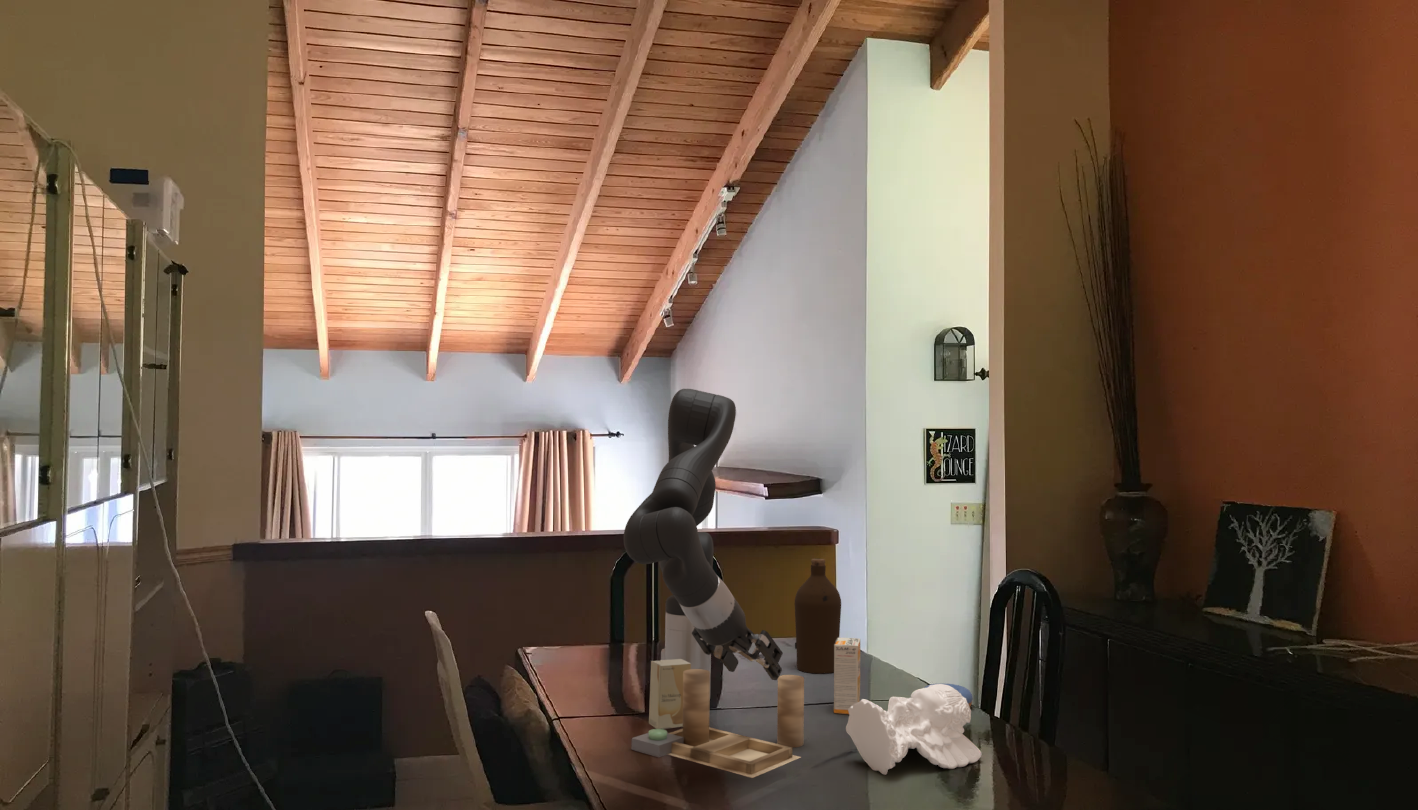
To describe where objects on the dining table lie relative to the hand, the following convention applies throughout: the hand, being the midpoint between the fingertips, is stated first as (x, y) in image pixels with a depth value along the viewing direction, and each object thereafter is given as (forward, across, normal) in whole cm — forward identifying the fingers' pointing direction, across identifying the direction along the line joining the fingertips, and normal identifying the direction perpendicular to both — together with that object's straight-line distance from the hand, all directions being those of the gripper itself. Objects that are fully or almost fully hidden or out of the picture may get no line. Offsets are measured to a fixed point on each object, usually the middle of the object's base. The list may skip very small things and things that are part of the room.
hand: (755, 671), depth 157 cm
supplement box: (+38, +6, -17) cm, 42 cm away
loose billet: (+17, 0, +4) cm, 18 cm away
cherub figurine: (+24, -18, -3) cm, 30 cm away
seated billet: (+8, +11, +11) cm, 17 cm away
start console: (+5, +14, +16) cm, 22 cm away
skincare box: (+14, +22, +7) cm, 27 cm away
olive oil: (+56, +30, -34) cm, 72 cm away
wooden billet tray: (+9, +5, +12) cm, 16 cm away
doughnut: (+49, -7, -27) cm, 56 cm away
